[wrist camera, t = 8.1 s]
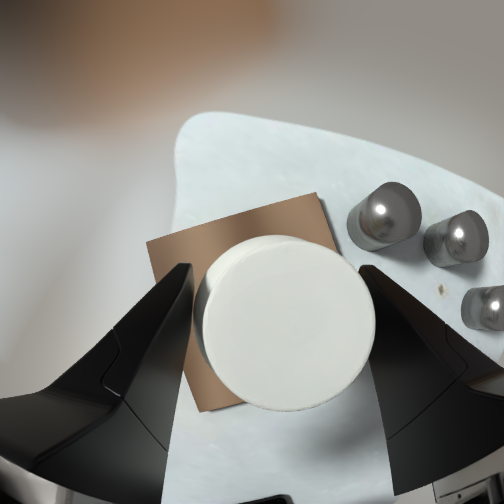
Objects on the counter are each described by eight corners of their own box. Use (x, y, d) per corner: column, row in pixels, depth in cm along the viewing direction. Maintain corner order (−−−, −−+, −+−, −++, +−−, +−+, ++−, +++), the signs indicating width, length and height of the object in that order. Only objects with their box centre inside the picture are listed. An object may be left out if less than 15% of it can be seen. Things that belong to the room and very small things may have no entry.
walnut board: (201, 408, 18) (199, 412, 17) (149, 244, 19) (146, 242, 18) (363, 355, 19) (367, 357, 18) (313, 195, 20) (315, 192, 19)
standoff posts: (476, 334, 19) (510, 337, 15) (338, 233, 20) (363, 217, 15) (495, 276, 20) (528, 271, 16) (370, 170, 21) (396, 144, 16)
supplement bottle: (213, 259, 16) (176, 203, 6) (310, 260, 16) (397, 212, 7) (212, 356, 15) (174, 433, 6) (309, 356, 15) (391, 422, 6)
